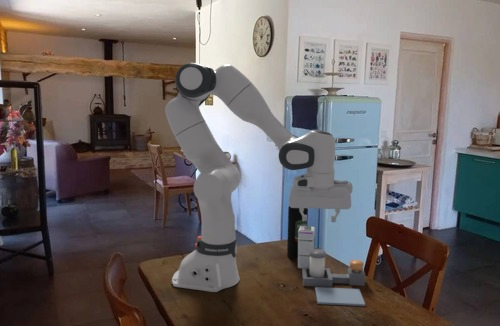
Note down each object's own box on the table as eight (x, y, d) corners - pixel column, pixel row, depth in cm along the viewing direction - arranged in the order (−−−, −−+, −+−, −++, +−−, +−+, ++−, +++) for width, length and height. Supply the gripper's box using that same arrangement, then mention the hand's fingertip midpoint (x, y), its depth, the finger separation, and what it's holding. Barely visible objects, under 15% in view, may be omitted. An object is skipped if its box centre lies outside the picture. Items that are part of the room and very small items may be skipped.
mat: (317, 303, 125) (317, 301, 125) (315, 288, 135) (315, 287, 134) (365, 306, 124) (365, 304, 124) (359, 290, 133) (359, 289, 133)
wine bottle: (296, 250, 168) (298, 177, 164) (310, 256, 163) (313, 180, 158) (283, 254, 164) (284, 179, 159) (296, 260, 158) (299, 183, 153)
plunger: (350, 283, 138) (351, 264, 137) (348, 277, 142) (349, 259, 141) (363, 283, 137) (364, 265, 136) (361, 278, 142) (362, 259, 141)
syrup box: (313, 269, 150) (314, 230, 147) (297, 268, 151) (298, 229, 149) (314, 263, 155) (315, 226, 153) (298, 262, 156) (299, 225, 154)
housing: (303, 285, 137) (303, 274, 136) (302, 274, 146) (302, 263, 145) (366, 288, 135) (366, 277, 134) (360, 276, 144) (361, 265, 144)
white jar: (309, 283, 138) (310, 254, 137) (308, 276, 144) (309, 248, 142) (325, 284, 138) (326, 255, 136) (323, 277, 143) (325, 249, 142)
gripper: (351, 178, 138) (349, 219, 140) (289, 177, 139) (288, 217, 142) (354, 182, 132) (352, 225, 134) (289, 181, 133) (288, 223, 135)
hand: (318, 221), depth 138 cm, fingers open, 8 cm apart
